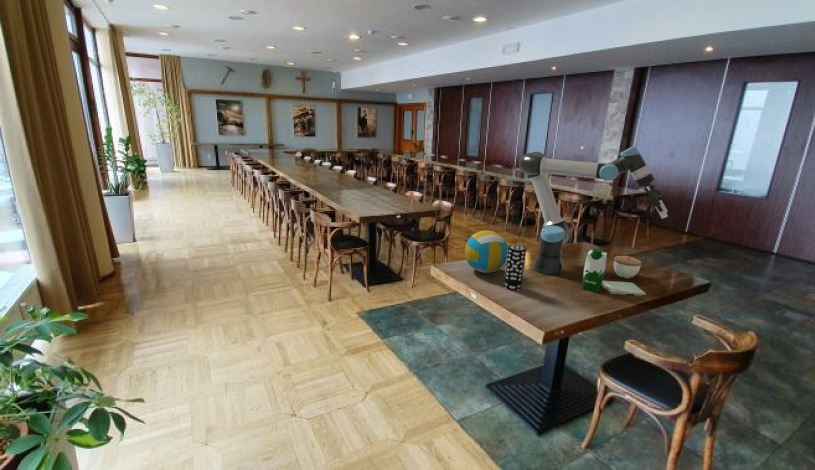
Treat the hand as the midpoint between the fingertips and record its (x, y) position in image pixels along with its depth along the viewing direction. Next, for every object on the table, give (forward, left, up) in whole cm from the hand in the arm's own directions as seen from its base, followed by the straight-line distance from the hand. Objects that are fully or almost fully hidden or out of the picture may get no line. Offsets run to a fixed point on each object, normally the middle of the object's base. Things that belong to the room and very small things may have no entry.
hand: (665, 215), depth 193 cm
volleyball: (-83, +3, -36) cm, 91 cm away
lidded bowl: (-8, +9, -36) cm, 38 cm away
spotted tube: (-72, -16, -36) cm, 82 cm away
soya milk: (-33, -11, -36) cm, 50 cm away
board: (-18, -10, -36) cm, 41 cm away
